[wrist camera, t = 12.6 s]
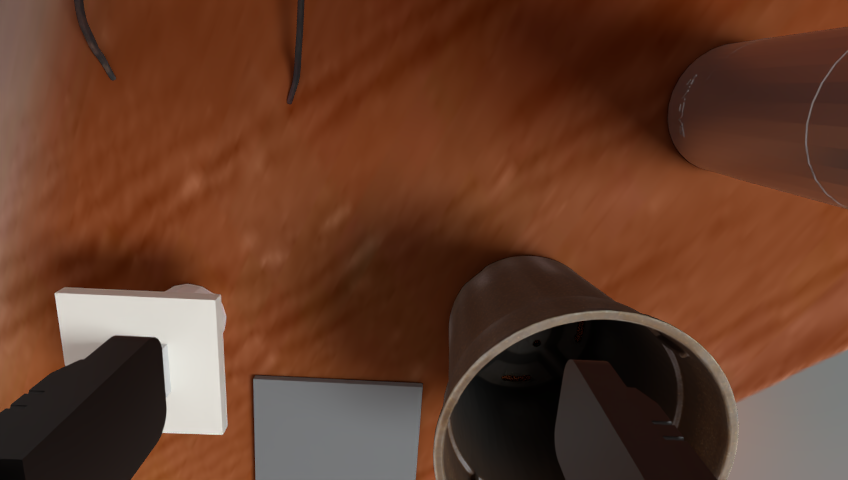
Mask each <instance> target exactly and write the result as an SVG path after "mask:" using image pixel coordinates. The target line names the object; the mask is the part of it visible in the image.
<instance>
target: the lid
mask: <svg viewBox="0 0 848 480" xmlns="http://www.w3.org/2000/svg"><path fill="white" fill-rule="evenodd" d="M55 299H56V306H57V313H58V320H59V327H60V334H61V341H62V348H63V355H64V361H65V366H67V365H69V364H72V363H74V362H76V361H78V360H80V359H85V358H86V357H87V356H89V355H90V354H91V353H92V352H94V351H95V350H96V349H97V348H98V347H100V346H101V345H102V344H103V343H104V342H106V341H107V340H108V339H109V338H111V337H112V336H115V335H121V336H141V337H156V338H157V339H159V341H160V343H161V346H162V352H163V366H164V379H165V392H166V406H167V412H166V420H165V425H164V429H163V432H162V433H185V434H213V435H223V433H224V432H225V430H226V428H227V426H228V424H227V405H226V385H225V365H224V346H223V326H222V307H221V294H203V293H181V292H159V291H137V290H115V289H94V288H72V287H64V288H62V289H61V290H59V291H57V292H55Z"/></svg>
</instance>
